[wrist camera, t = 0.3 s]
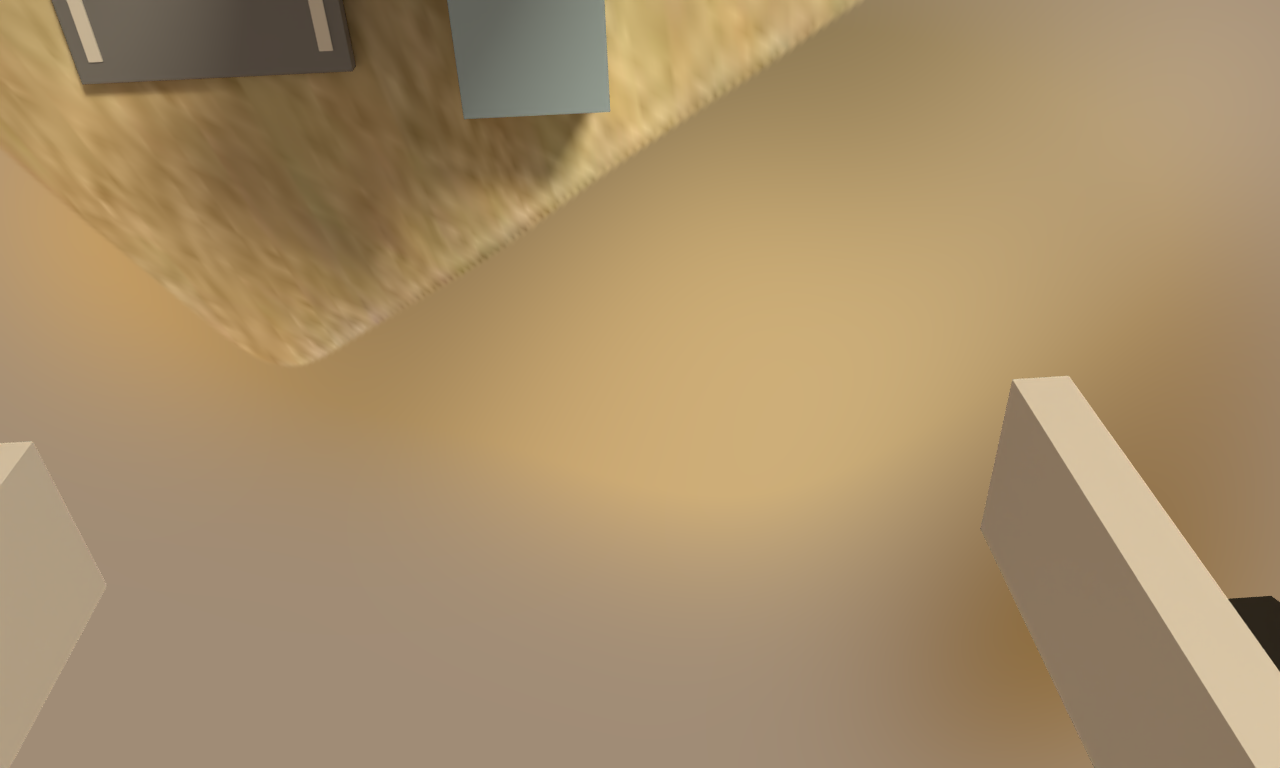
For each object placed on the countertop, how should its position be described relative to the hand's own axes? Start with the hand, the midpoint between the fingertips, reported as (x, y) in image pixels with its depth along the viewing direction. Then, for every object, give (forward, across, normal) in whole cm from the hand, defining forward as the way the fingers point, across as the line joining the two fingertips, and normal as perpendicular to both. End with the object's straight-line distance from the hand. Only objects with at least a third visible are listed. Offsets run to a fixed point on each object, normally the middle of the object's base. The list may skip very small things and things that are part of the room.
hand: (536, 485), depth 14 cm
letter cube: (+27, -1, 0) cm, 27 cm away
